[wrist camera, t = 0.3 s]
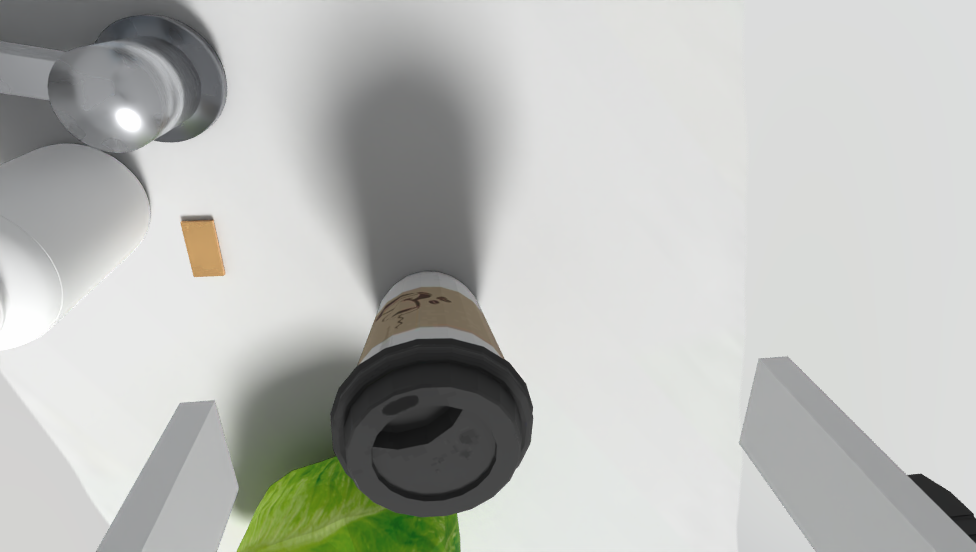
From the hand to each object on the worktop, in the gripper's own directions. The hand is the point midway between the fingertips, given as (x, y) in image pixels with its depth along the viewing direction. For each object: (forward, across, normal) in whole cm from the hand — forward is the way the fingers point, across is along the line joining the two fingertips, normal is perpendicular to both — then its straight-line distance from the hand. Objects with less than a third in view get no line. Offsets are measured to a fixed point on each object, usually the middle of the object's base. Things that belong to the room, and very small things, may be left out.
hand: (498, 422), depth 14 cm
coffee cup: (+27, -2, -12) cm, 30 cm away
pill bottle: (+27, -23, -2) cm, 36 cm away
